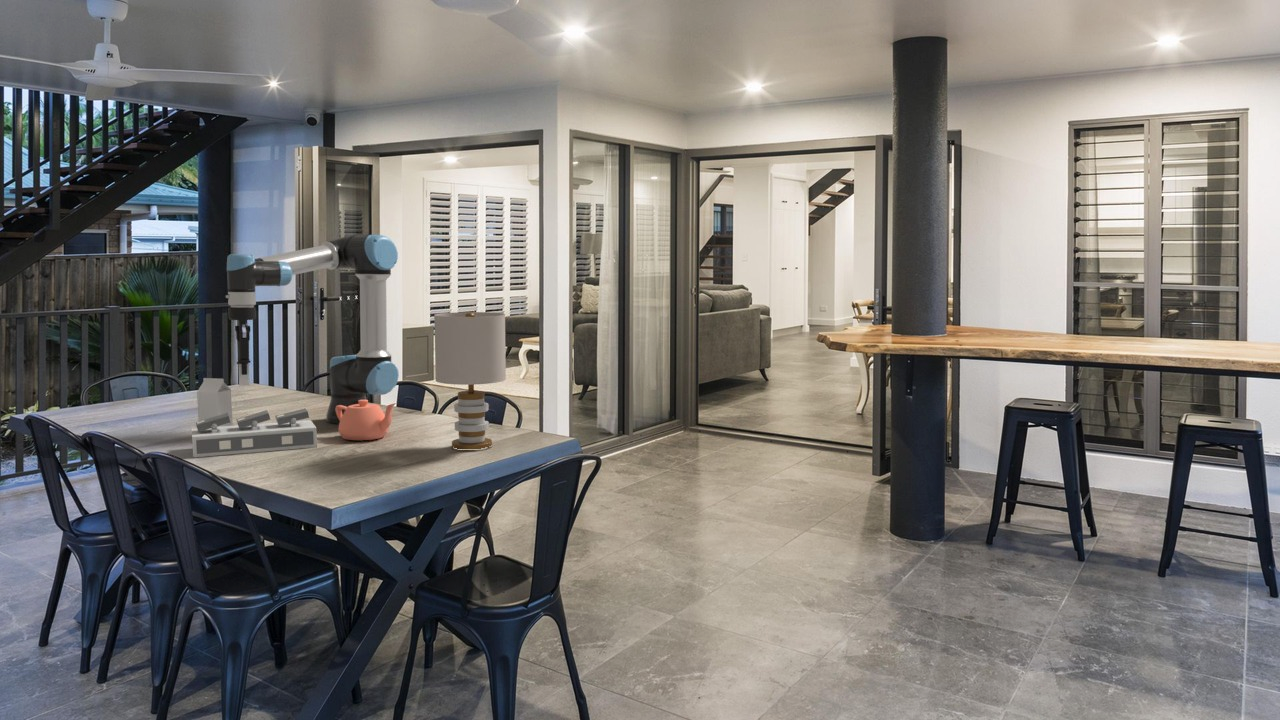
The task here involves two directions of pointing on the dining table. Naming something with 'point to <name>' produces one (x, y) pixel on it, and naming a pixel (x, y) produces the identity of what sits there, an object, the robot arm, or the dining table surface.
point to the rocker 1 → (213, 422)
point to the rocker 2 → (292, 416)
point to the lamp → (470, 367)
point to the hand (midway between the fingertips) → (244, 385)
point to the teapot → (363, 421)
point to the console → (254, 438)
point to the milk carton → (214, 399)
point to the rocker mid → (253, 419)
